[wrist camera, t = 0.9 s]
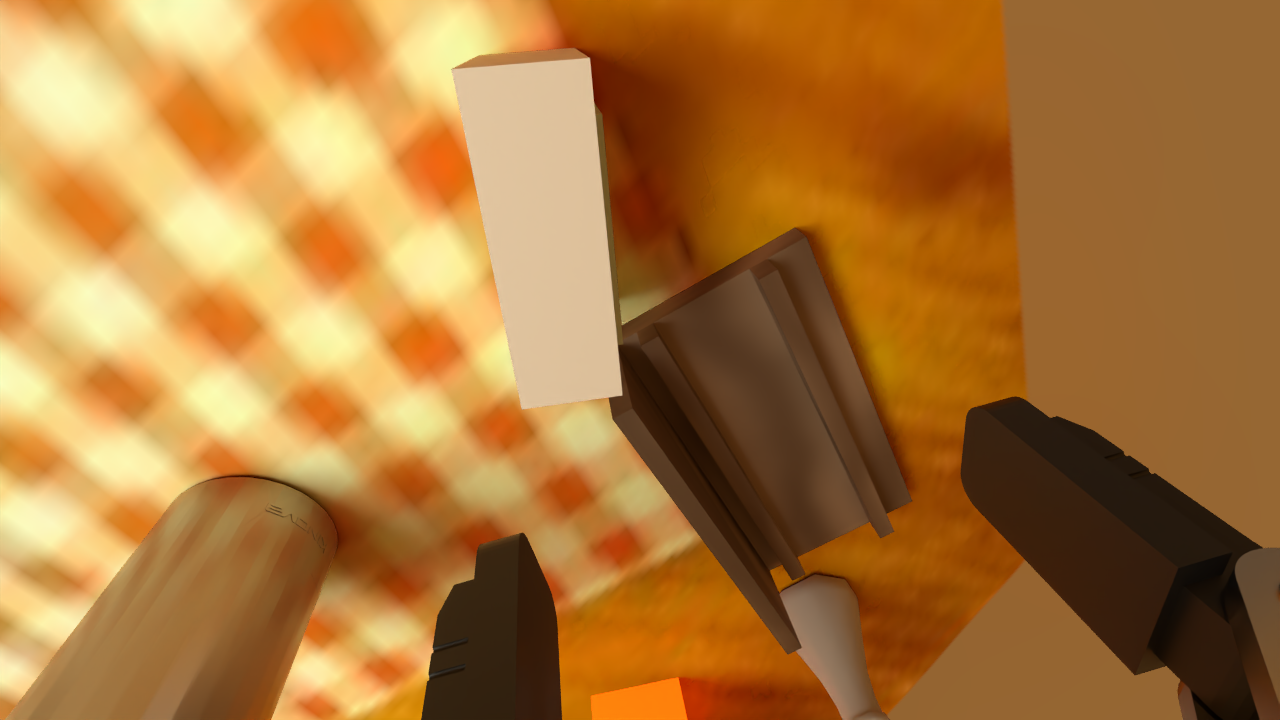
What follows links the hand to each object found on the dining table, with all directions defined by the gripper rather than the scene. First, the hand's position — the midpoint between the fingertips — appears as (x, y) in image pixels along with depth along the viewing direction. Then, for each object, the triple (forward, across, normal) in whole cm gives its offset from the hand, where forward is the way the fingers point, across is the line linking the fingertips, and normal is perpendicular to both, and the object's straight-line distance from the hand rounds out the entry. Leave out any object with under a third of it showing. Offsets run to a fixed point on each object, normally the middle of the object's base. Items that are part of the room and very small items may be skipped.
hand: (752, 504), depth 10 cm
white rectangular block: (+21, +3, -1) cm, 21 cm away
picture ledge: (+21, -7, +16) cm, 27 cm away
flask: (+21, -8, +35) cm, 42 cm away
